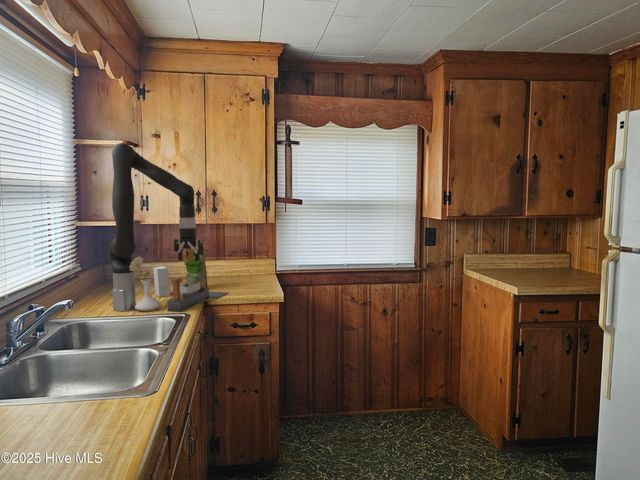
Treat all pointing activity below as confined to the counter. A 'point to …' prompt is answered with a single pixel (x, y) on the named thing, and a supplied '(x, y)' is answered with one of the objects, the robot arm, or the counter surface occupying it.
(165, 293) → the skincare box
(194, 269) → the green plant in glass
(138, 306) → the flower in vase
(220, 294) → the rubber mat
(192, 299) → the hand plane
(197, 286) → the lever cap
